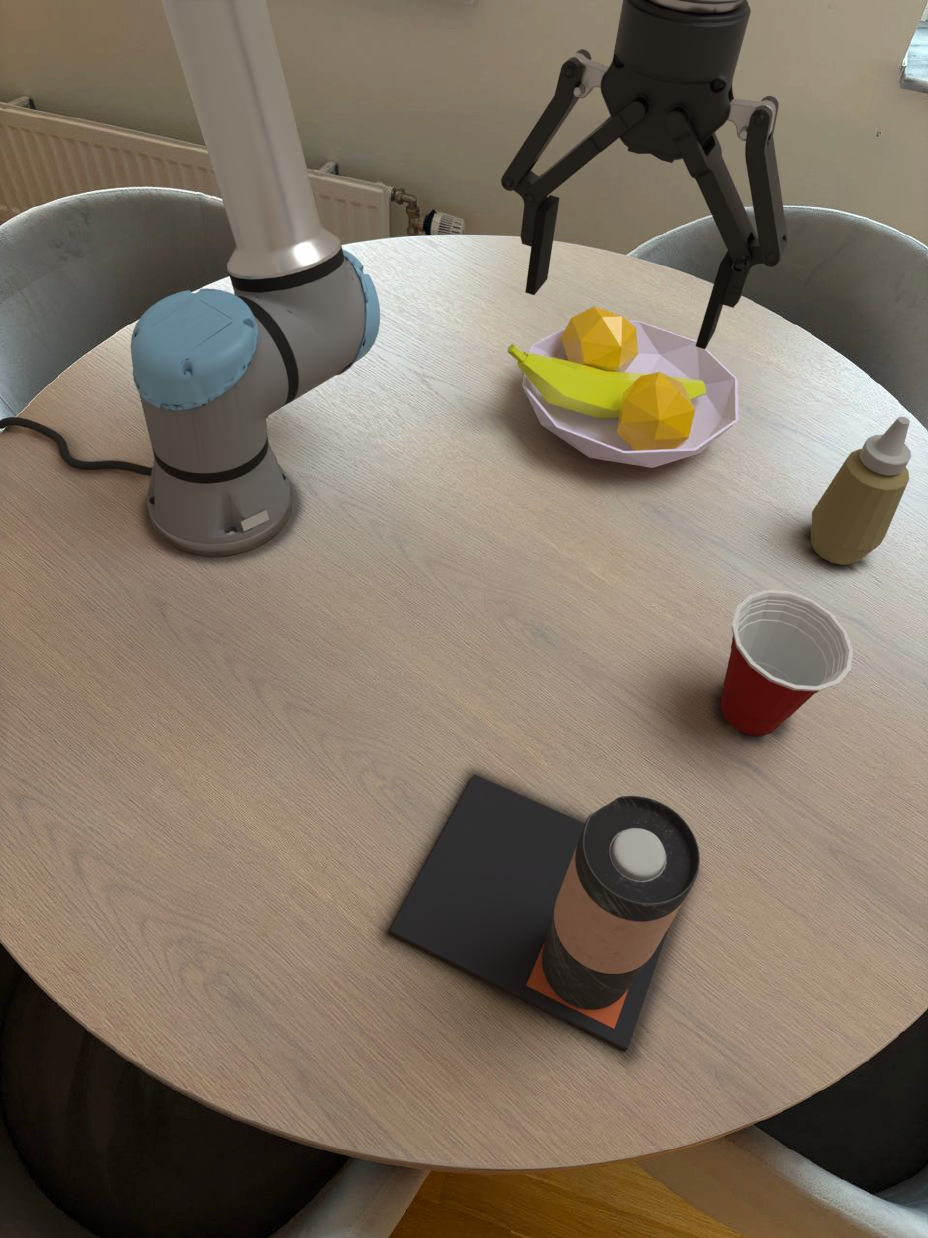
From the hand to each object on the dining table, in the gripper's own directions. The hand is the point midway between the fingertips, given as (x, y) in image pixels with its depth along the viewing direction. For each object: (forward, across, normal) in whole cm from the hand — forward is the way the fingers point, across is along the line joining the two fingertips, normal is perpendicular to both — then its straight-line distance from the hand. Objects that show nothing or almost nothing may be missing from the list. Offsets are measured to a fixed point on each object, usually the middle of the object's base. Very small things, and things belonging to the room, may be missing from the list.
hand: (618, 312), depth 72 cm
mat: (+35, +11, -30) cm, 47 cm away
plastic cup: (+35, +22, -3) cm, 41 cm away
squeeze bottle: (+35, +25, +24) cm, 49 cm away
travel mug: (+34, +16, -33) cm, 50 cm away
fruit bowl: (+35, -5, +33) cm, 48 cm away
